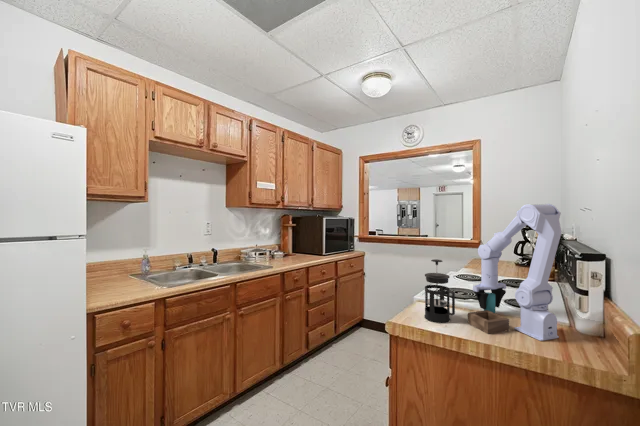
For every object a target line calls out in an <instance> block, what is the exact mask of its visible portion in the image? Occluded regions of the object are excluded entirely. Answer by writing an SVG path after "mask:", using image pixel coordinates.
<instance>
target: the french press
mask: <svg viewBox="0 0 640 426" xmlns="http://www.w3.org/2000/svg"><path fill="white" fill-rule="evenodd" d="M431 262H433V263H435V265H436V268H435V269H436V270H435V271H436V272H427V273H425V274H424V277H425V280H426V282H427V283H431V284H427V285H425V286H424V299H425V301H424V306H425V307H424V316H423V317H424V319H425V320H427V321H428V322H431V323H435V324H448V323H450V322H451V317H453V316H455V314H456V311H455V310H456V305H455V304H456V300H455V299H456V298H455V297H456V296H455V295H456V292H455V291H453V290H451V289H450V288H449V287H448V286H445V285H446V284H448V283H449V279H450V275H449V274H446V273H441V272H440V273H439V272H438V266H439V263H443V260H442V259H436V258H435V259H431ZM444 284H445V285H444ZM433 289H439V290H433ZM428 294H429V295H428ZM450 294H451V305H450ZM435 295H436V298H435ZM445 295H446V300H445ZM438 296H439V298H438ZM428 297H429V298H428ZM450 306H451V307H450ZM450 308H451V312H450Z"/></svg>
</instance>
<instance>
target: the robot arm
mask: <svg viewBox="0 0 640 426" xmlns="http://www.w3.org/2000/svg"><path fill="white" fill-rule="evenodd" d="M561 215H562V214H561V212H560V210H559V209H558V208H557V207H556V205H553V204H551V203H545V204H543V203H542V204H538V203H537V204H529V203H526V204H524V205H522V206H521V207H520V209H518V210H517V211H516V215H515V217H514V218H513V219H512V220H511V221H510V222H509V224H508V225H507V226H506V227H505V228H504V229H503V231H498V232H494V233H493V236H492V237H491V238H490V239H489V240H488V241H487V242H486V243H485V244H484V243H483V244H480V245H479V246H478V249H477V254H478V256H479V258H480V259H481V263H480V265H481V268H480V270H481V280H480V283H478V284H476V285H472V291H473V294H474V295H475V296H476V298H477V302H478V304H479V308H480V309H481V310H484V309H486V301H487V297H488V295H489V294H488V293H485V292H486V291H490V293H494V294H495V308H498V309H499V308H500V305H501V303H502V300H503V298H504V296H505V295H506V293H507V291H506V289H507V283H503V282H499V275H498V274H499V262H500V258H501V256H502V251H504V250H505V249H506V248H507V247H508V246H510V244H511V243H512V238H513V237H514V236H515V235H517V234H518V233H519V232H521V230H522V229H524V228H525V227H530V228H531V229H532V230H533V231H535V232H536V234H537V239H536V243H535V245H534V250H533V254H532V257H531V258H532V259H531V262H530V266H529V270H528V272H527V277H526V278H525V279H524V280H522V281H521V282H520V284H519V287H518V288H517V289H516V290H515V292H514V298H515V301H516V302H517V304H518V306H519V307H520V326H515V327H513V328H514V330H515V331H518V332H520V333H523V334H524V335H527V336H528V337H530V338H531V337H532V338H533V339H535V340H537V341H541V342H543V341H549V340H555V339H559V338H560V337H559V335H558V318H557V316H556V314H554V313H553V312H551V311H549V309H548V308H549V305H551V304H552V302H553V299H554V296H553V289H554V287H553V286H552V285H551V284H550V283H549V279H550V275H551V272H552V268H553V264H554V261H555V258H556V253H557V250H558V247H559V244H560V239H561V236H562V228H561V223H560V218H561Z"/></svg>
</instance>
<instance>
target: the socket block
mask: <svg viewBox="0 0 640 426" xmlns="http://www.w3.org/2000/svg"><path fill="white" fill-rule="evenodd" d="M467 324H468V325H470V326H472V327H474V328H475V329H478V330H480V331H481V332H484V333H486V334H488V335H491V334H497V333H502V332H509V331H510V319H509V318H507V317H505V316H502V315H500V314H497V313H496V312H495V313H493V312H491V311H488V310H485V311H484V310H479V311H472V312H471V311H470V312H467Z"/></svg>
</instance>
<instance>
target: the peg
mask: <svg viewBox="0 0 640 426" xmlns="http://www.w3.org/2000/svg"><path fill="white" fill-rule="evenodd" d="M484 292H485V293H488V294H489V295H488V297H487V301H486V309H483V311H485V310H488V311H491V312H493V313H495V314H496V307H495V294H494V293H492V292H486V291H484Z"/></svg>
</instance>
